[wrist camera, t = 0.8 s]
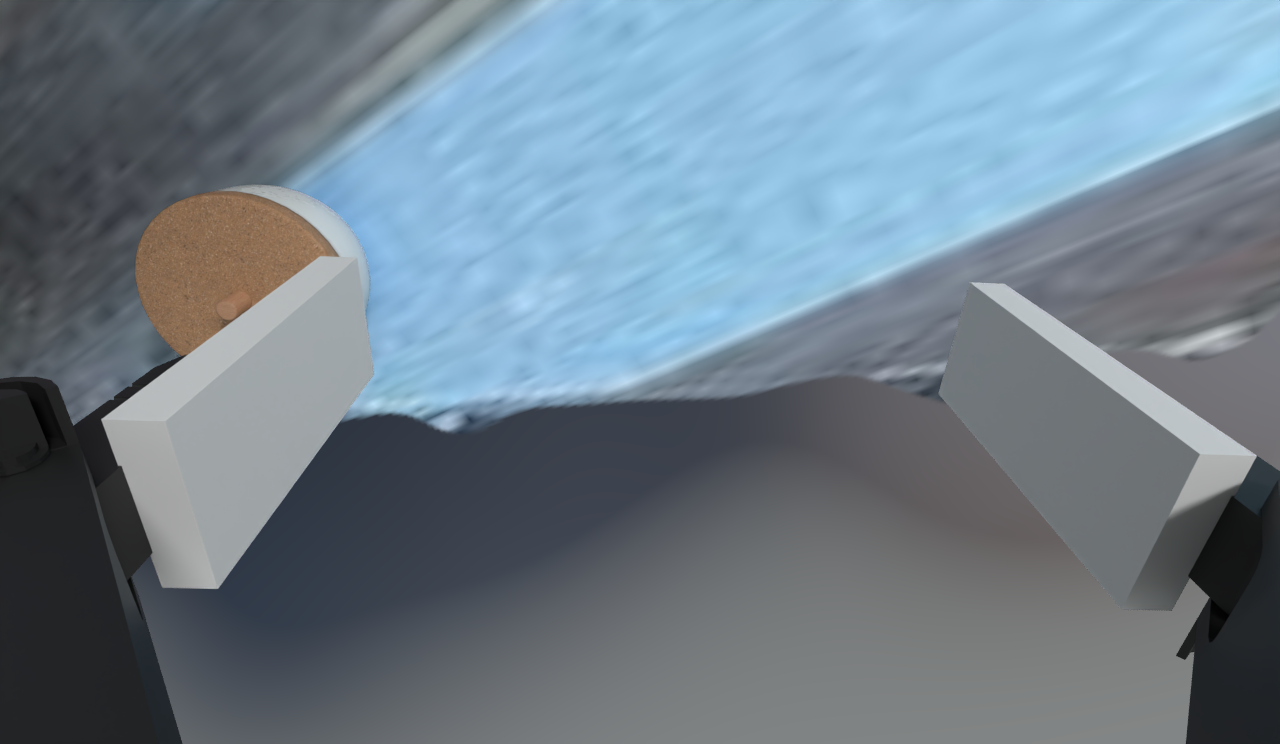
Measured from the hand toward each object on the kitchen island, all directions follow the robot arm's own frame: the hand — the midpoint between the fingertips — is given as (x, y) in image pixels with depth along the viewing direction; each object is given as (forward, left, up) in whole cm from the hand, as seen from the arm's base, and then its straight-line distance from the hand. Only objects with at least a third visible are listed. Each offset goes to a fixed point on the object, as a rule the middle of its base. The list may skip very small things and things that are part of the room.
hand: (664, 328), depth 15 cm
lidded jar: (+5, -21, -28) cm, 35 cm away
